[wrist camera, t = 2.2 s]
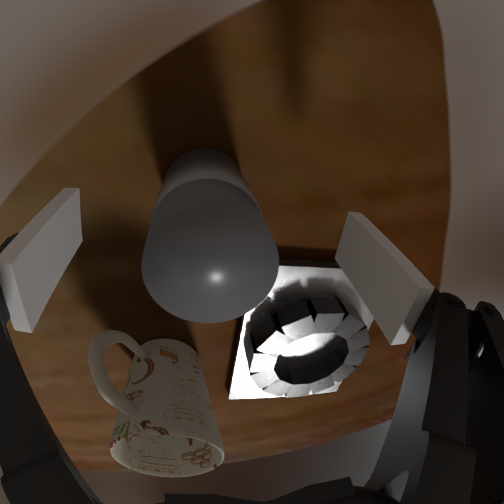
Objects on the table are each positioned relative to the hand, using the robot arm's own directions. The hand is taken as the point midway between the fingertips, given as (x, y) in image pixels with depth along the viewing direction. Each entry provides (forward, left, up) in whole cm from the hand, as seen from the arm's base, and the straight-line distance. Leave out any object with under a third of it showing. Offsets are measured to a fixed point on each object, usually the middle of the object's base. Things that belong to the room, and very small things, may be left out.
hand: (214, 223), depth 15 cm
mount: (+10, -13, -6) cm, 17 cm away
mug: (-4, -15, -6) cm, 16 cm away
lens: (0, 0, -6) cm, 6 cm away
